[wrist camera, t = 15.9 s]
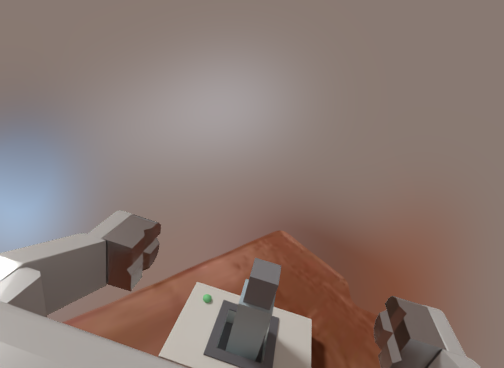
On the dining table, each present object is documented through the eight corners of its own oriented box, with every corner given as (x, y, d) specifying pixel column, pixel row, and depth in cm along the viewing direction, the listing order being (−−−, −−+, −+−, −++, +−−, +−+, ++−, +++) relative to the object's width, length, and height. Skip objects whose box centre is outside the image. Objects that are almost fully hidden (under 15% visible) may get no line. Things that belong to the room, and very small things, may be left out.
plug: (258, 338, 40) (284, 264, 34) (253, 366, 36) (281, 289, 30) (231, 329, 40) (252, 254, 34) (223, 356, 37) (245, 277, 30)
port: (305, 332, 43) (312, 317, 42) (302, 423, 32) (311, 407, 31) (194, 295, 45) (197, 279, 43) (156, 370, 34) (158, 353, 32)
